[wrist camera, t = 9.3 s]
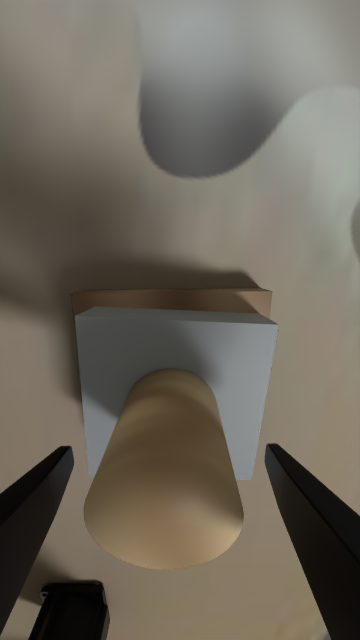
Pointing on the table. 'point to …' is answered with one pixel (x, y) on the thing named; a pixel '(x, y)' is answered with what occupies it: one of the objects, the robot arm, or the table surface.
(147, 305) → the tower base block
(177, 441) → the tan rounded piece
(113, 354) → the tower top block
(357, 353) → the table surface
